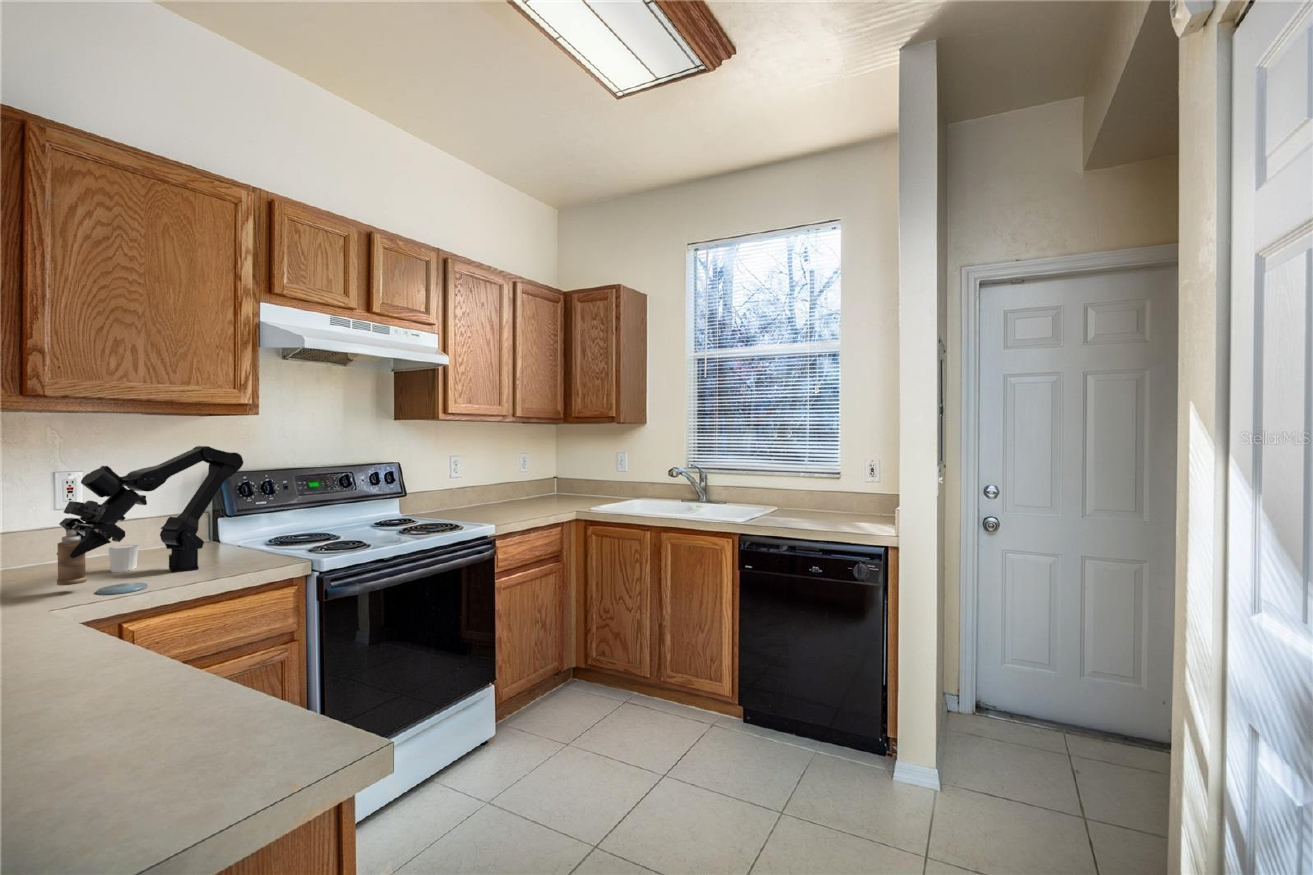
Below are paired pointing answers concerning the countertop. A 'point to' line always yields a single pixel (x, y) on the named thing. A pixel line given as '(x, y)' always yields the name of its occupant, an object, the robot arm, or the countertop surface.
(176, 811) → the countertop surface
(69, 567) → the pepper mill
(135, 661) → the countertop surface
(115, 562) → the white faceted cup
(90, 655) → the countertop surface
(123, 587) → the trivet
